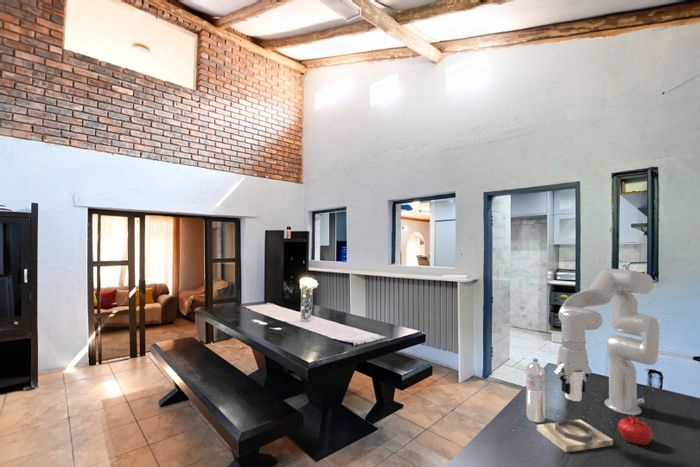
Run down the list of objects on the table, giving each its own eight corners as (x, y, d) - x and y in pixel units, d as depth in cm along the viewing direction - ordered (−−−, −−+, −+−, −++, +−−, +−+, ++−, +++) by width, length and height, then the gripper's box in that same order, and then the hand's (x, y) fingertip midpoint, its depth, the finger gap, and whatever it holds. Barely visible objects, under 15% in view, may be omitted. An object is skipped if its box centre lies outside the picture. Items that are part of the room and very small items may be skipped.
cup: (582, 395, 131) (581, 367, 131) (585, 403, 125) (585, 373, 125) (561, 392, 134) (561, 364, 134) (564, 400, 128) (564, 370, 128)
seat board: (580, 424, 138) (580, 415, 138) (612, 445, 124) (612, 435, 124) (536, 429, 134) (536, 421, 134) (565, 452, 121) (565, 442, 121)
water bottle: (547, 424, 138) (547, 362, 138) (529, 422, 140) (528, 361, 140) (541, 415, 145) (541, 356, 145) (524, 413, 146) (523, 355, 146)
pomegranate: (655, 452, 121) (655, 426, 121) (619, 442, 126) (620, 418, 126) (649, 437, 129) (649, 413, 129) (616, 429, 135) (616, 405, 134)
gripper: (583, 339, 135) (584, 385, 135) (545, 342, 131) (546, 389, 131) (601, 345, 127) (601, 394, 127) (561, 349, 124) (561, 398, 124)
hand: (573, 391), depth 129 cm, fingers closed on cup, 5 cm apart
